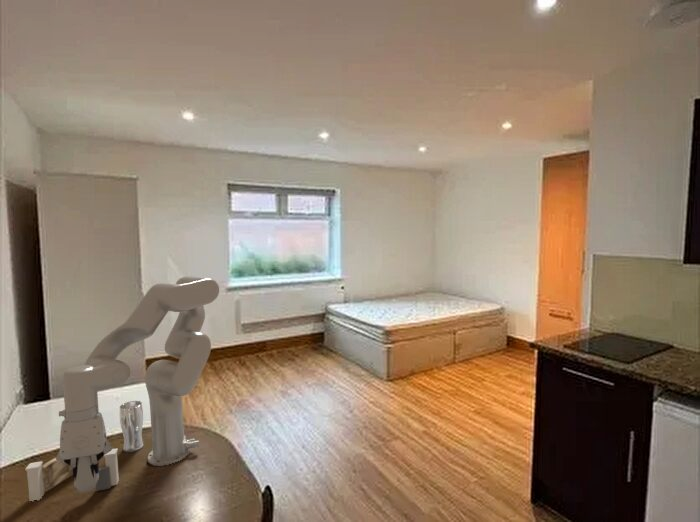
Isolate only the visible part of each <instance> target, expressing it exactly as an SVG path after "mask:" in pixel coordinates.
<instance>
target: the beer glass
mask: <svg viewBox="0 0 700 522" xmlns="http://www.w3.org/2000/svg"><path fill="white" fill-rule="evenodd" d="M119 424H120V428H121V431H122V435H123V440H124V442H123V443H124V444H123V452H127V453H133V452H136V451H139V450H141V449H142V448H143V447H144V440H143V437H142V436H143V435H142V434H143V433H142V432H143V424H144V410H143V402H142V401H141V400H131V401H127V402H124V403H122V404H121V405H120V406H119Z"/></svg>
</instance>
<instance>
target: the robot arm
mask: <svg viewBox="0 0 700 522" xmlns="http://www.w3.org/2000/svg"><path fill="white" fill-rule="evenodd" d="M219 294H220V286H219V283H218V282H217V281H216V280H215V279H213V278H210V277H204V276H203V277H199V276H183V277H180V278H179V279H178V280H177V281H176V282H175V284H174V283H166V282H165V283H164V282H163V283H162V282H161V283H155V284H154V285H152V286H151V287H150V288H149V289H148V291H147V292H146V293H145V295H144V296H143V297H142V299H141V300H140V301H139V303H138V304H137V306H136V307H135V308H134V310H133V311H132V312H131V314H130V315H129V317H128V318H127V319H126V320H125V322H123V323H122V324H121V325H119V326H117V328H115V329H113V330H112V331H111V332H110V333H109V334H107V335H106V336H105V337H104V338H102V339H101V341H100V342H99V343H98V344H97V345H96V346H95V347H94V349H93V350H92V352H91V353H90V354H89V356H88V357H87V359H86V360H85V363H84V364H83V365H77V366H74V367H73V366H72V367H71V368H67V369H66V370H65V371H64V372H63V374H62V385H63V387H62V389H63V400H64V409H63V410H59V411H58V417H63V418H64V419H63V420H62V421H61V426H60V434H59V451H58V453H57V456H56V457H55V458H56V460H59V461H64V462H65V463H67V464H68V465H70V467H71V468H73V475H72V477H73V478H74V480H75V482H76V477H77V469H78V468H77V460H78V458H80V457H86V456H91V459H92V463H93V464H92V465H91V466H90V468H91V472H92V475H93V478H94V470H95V473H96V474H97V473H98V472H99V468H100V467H99V466H100V465H99V461H100V460H101V459H102V458H104V455H105V454H107V453H109V452H110V451H111V450H112V449H113V446H112V444H111V443H110V442H109V440H108V439H107V430H106V425H105V421H104V417H103V415H102V413H101V411H100V412H99V397H98V395H99V394H98V393H99V392H98V391H102V390H109V389H113V388H117V387H119V386H121V385H124V384H125V383H126V382H127V381H128V380H129V378H130V375H131V369H130V366H129V364H127V363H126V362H124V361H123V360H119V359H118V356H120V354H121V353H122V352H124V351H125V350H126V349H127V348H128V347H130V346H131V345H133V344H136V343H138V342H142V341H144V340H146V339H148V338H151V337H152V336H153V335H154V333H155V332H156V330H158V327H159V326H160V324H161V323H162V321H163V320H164V319H165V317H166V316H167V314H168V313H169V312H175V313H178V315H177V319H176V321H175V322H174V325H173V327H172V328H171V331H170V332H169V335H168V336H167V339H166V341H165V344H164V351H165V354H167V355H169V356H170V357H172V358H175V359H178V360H179V361H178V362H177V361H172V360H167V359H159V360H156V361H154V362H152V363H151V364H150V365H149V366H148V367H147V369H146V371H145V376H144V381H145V382H144V383H145V387H146V391H147V394H148V401H149V409H150V410H149V412H150V426H151V429H150V430H151V442H152V444H151V445H152V446H151V447H152V450H151V451H150V452H149V453H148V455H147V461H148V463H149V465H152V466H156V467H165V466H164V465H166V466H170V465H169V464H171V465H173V464H172V463H174V464H176V463H175V462H177V461H179V462H181V461H183V460H184V459H185V458H187V457H188V456H187V455H189V454H190V451H191V449H192V448H194V449H195V448H198V447H199V446H200V441H199V440H196V438H190V439H188V438H186V437H187V436H186V435H185V431H184V412H183V411H184V410H183V409H184V408H183V399H182V397H184V396H187V395H188V394H191V392H192V391H193V390H194V388H195V387H196V385H197V384H198V381H199V379H200V378H201V375H202V373H203V370H204V368H205V367H206V363H207V362H208V360H209V357H210V354H211V348H212V343H211V340H210V338H209V336H208V335H207V334H206V333H203V332H201V330H202V328H203V326H204V322H205V319H206V311H205V306H206V305H208V304H211V303H213V302H214V301H215V300H217V298H218V296H219ZM199 448H200V447H199ZM186 456H187V457H186ZM183 458H184V459H183ZM182 459H183V460H182ZM180 460H181V461H180ZM177 463H178V462H177Z"/></svg>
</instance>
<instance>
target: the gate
mask: <svg viewBox="0 0 700 522" xmlns="http://www.w3.org/2000/svg"><path fill="white" fill-rule="evenodd" d="M71 476H73V468H71V467H70V465H68V464H67V463H65V462H64V461H59V460H56V457H54V458H53V459H51V460H49V461H47V462H45V463H43V464H42V477H43V488H44V492H46V491H48V490H50V489H52V488H53V487H55V486H56V485H58V484H60V483H61V482H63V481H64V480H66V479H67V478H69V477H71Z"/></svg>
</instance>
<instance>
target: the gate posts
mask: <svg viewBox="0 0 700 522" xmlns="http://www.w3.org/2000/svg"><path fill="white" fill-rule="evenodd" d="M118 451H119V448H112V450H111V451H110V452H109V453H107V454H105V455H104V456H103V458H105V467H99V472H98V473H99V479H98V482H97V484H96V486H95V492H99V491H104V490H108V489H111V487H113V486H117V485H118V483H119V480H120V478H119V462H118V461H119V460H118ZM42 465H44V463H43V460H41V461H36V462H35V461H34V462H30V463H29V464H28V465H27V466H26V467H25V472H26V474H27V487H28V496H29V502H30V501H32V502H35V501H34V500H37V501H41V500H42V499H43V497H44V495H45V491H44V488H43V477H42ZM42 496H43V497H42ZM40 499H41V500H40Z"/></svg>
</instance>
